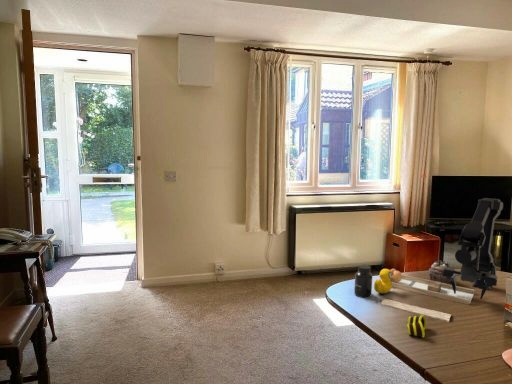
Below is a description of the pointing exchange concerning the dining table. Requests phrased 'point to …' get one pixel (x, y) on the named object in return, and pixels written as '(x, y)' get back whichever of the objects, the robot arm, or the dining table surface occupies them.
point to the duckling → (384, 281)
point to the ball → (397, 276)
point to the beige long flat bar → (416, 310)
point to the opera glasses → (417, 325)
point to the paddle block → (434, 286)
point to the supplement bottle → (363, 281)
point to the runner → (443, 290)
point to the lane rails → (432, 293)
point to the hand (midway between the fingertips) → (467, 296)
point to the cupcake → (438, 272)
